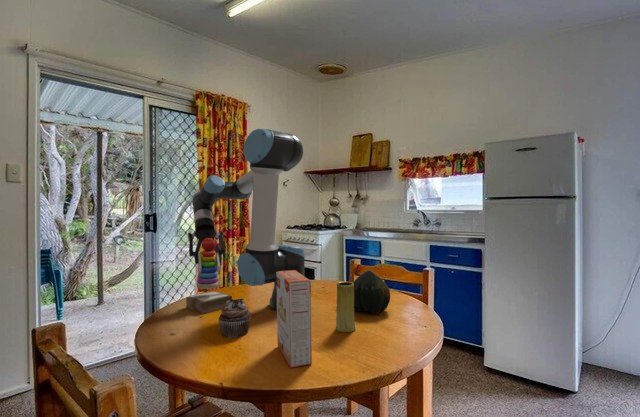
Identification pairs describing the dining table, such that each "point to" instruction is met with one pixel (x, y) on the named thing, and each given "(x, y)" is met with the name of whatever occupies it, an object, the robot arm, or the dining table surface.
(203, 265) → the stacking toy
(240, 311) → the cupcake
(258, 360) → the dining table surface
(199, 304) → the plinth
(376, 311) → the squash
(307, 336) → the cracker box
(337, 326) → the vase
